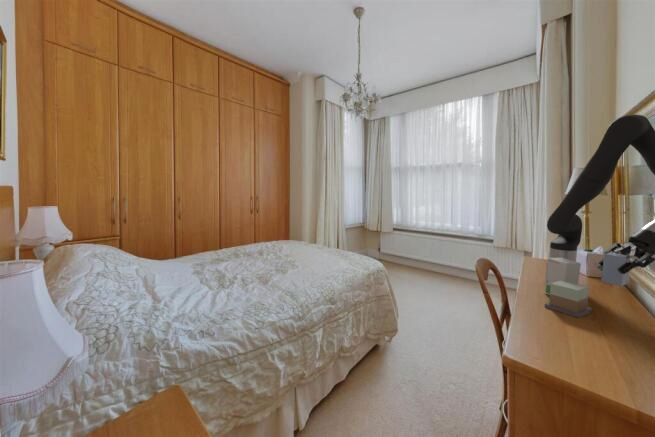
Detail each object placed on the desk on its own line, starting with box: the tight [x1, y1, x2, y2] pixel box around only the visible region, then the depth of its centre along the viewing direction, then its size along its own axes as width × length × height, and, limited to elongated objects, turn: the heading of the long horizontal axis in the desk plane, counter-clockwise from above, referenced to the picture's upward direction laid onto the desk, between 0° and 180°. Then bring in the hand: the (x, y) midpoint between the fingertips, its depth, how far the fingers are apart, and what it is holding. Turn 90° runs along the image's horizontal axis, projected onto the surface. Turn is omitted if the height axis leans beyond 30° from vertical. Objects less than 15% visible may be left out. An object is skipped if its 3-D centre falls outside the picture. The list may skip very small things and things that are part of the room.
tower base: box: [544, 280, 593, 319], centre depth 99 cm, size 10×10×9 cm
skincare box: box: [544, 257, 582, 296], centre depth 109 cm, size 8×7×16 cm
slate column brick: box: [600, 251, 630, 287], centre depth 93 cm, size 5×5×10 cm
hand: (610, 268), depth 94 cm, fingers closed on slate column brick, 7 cm apart
